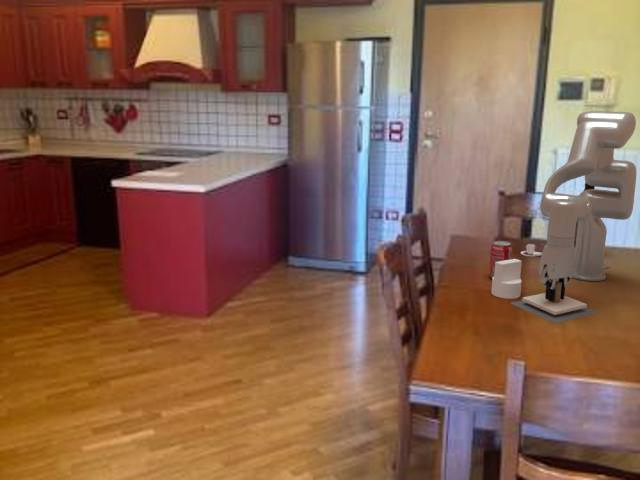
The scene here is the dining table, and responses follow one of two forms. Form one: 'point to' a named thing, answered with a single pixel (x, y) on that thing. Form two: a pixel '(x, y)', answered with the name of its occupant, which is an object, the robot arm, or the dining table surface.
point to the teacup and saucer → (531, 250)
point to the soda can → (499, 254)
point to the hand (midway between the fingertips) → (554, 298)
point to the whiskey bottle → (577, 221)
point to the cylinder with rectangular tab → (507, 279)
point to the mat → (551, 316)
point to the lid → (555, 302)
